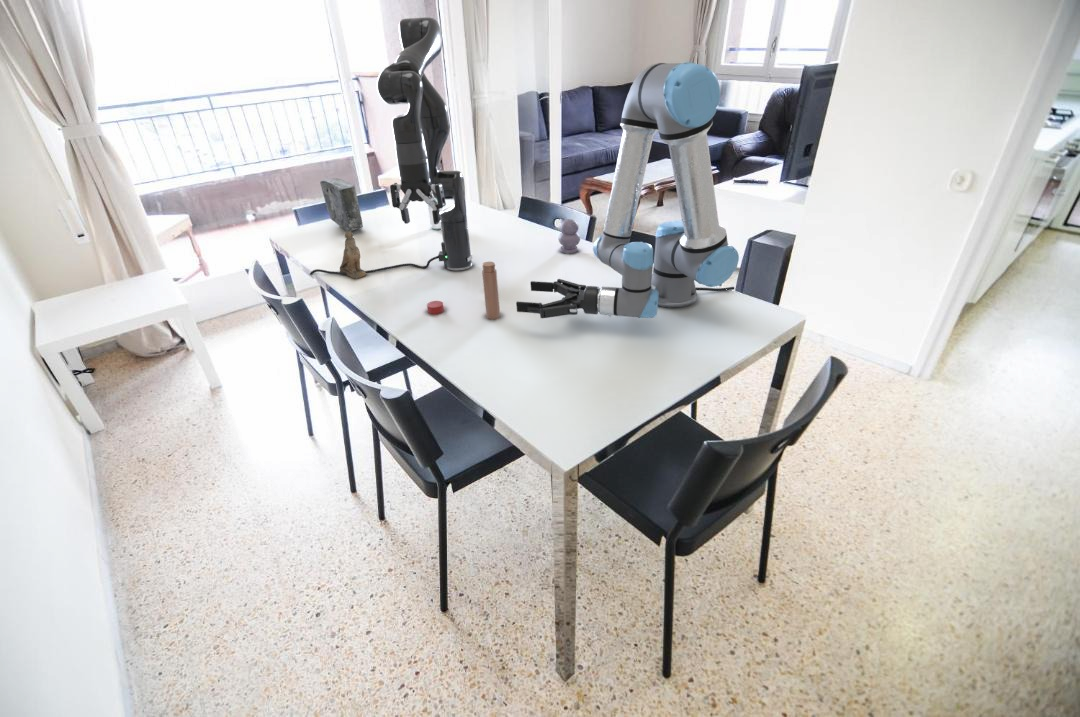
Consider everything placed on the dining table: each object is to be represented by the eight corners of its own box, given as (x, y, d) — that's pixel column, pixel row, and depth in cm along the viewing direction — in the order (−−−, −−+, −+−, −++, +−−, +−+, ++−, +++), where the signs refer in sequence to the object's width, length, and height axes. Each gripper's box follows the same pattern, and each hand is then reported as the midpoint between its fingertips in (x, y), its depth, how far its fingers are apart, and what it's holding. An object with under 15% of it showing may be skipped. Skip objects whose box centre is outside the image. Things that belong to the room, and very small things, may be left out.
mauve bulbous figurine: (584, 250, 191) (584, 219, 185) (571, 255, 186) (571, 223, 180) (567, 245, 196) (567, 215, 190) (554, 251, 191) (553, 220, 185)
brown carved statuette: (368, 281, 178) (362, 235, 166) (353, 285, 175) (347, 238, 163) (352, 266, 184) (346, 221, 172) (338, 270, 181) (331, 224, 169)
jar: (502, 314, 146) (498, 262, 138) (495, 320, 143) (490, 267, 135) (491, 312, 148) (486, 260, 139) (483, 317, 145) (478, 265, 136)
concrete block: (368, 232, 220) (358, 186, 209) (348, 237, 216) (336, 189, 205) (349, 220, 239) (338, 176, 228) (330, 223, 234) (319, 179, 224)
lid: (424, 312, 149) (423, 305, 148) (435, 306, 153) (434, 299, 152) (436, 315, 147) (435, 308, 146) (447, 309, 151) (446, 302, 149)
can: (445, 229, 220) (441, 202, 214) (429, 230, 220) (425, 202, 214) (447, 224, 226) (444, 198, 220) (432, 225, 226) (428, 198, 220)
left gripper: (379, 163, 126) (392, 226, 134) (433, 163, 123) (442, 227, 132) (392, 158, 132) (403, 218, 140) (443, 157, 129) (451, 219, 138)
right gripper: (591, 335, 126) (511, 328, 131) (606, 293, 146) (537, 289, 151) (591, 308, 122) (509, 303, 127) (606, 269, 142) (535, 266, 147)
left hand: (422, 223), depth 136 cm, fingers open, 8 cm apart
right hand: (524, 295), depth 139 cm, fingers open, 13 cm apart
